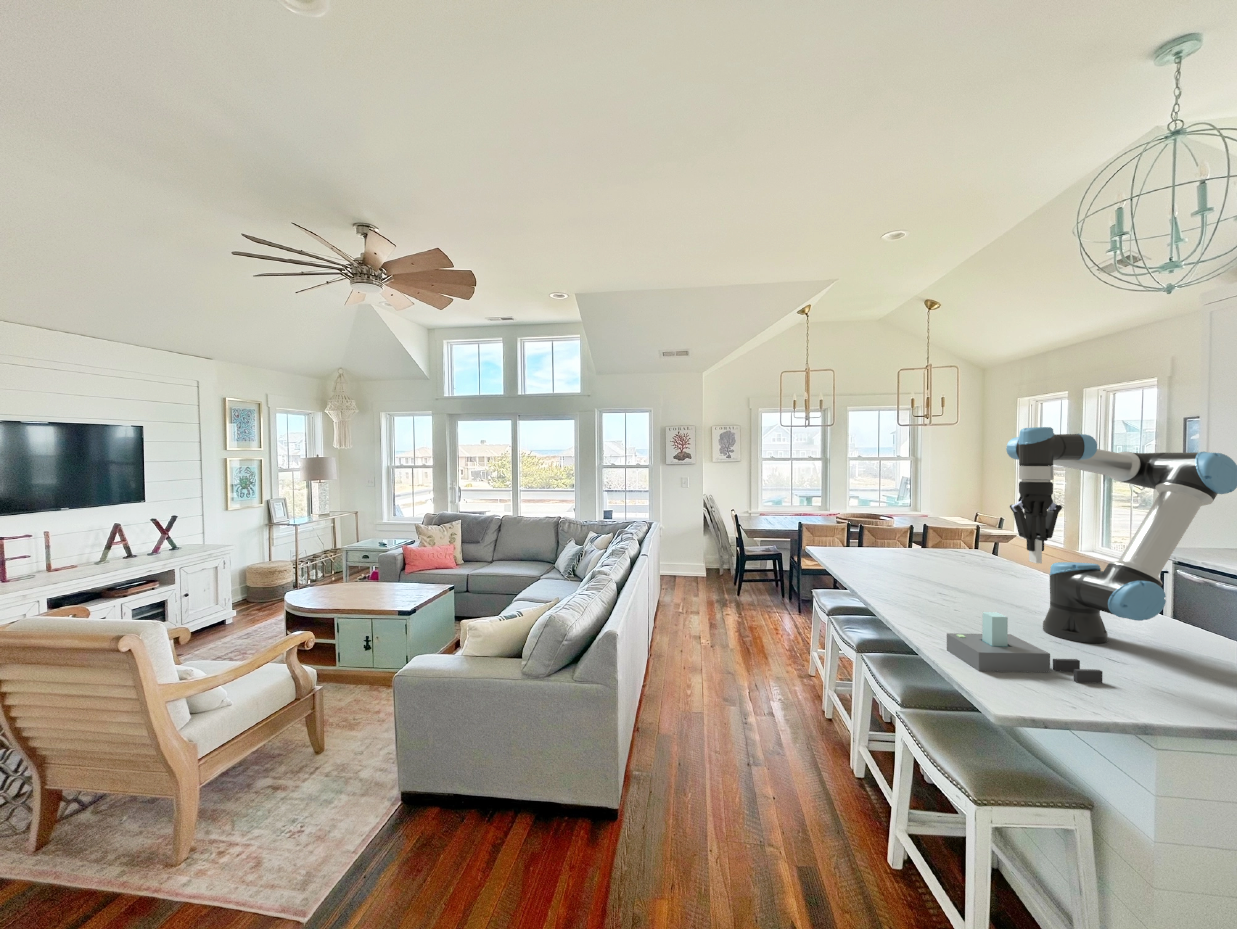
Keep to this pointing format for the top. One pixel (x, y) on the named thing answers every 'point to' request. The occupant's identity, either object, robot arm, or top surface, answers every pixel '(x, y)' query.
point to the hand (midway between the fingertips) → (1035, 562)
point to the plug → (995, 629)
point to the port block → (998, 654)
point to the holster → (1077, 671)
